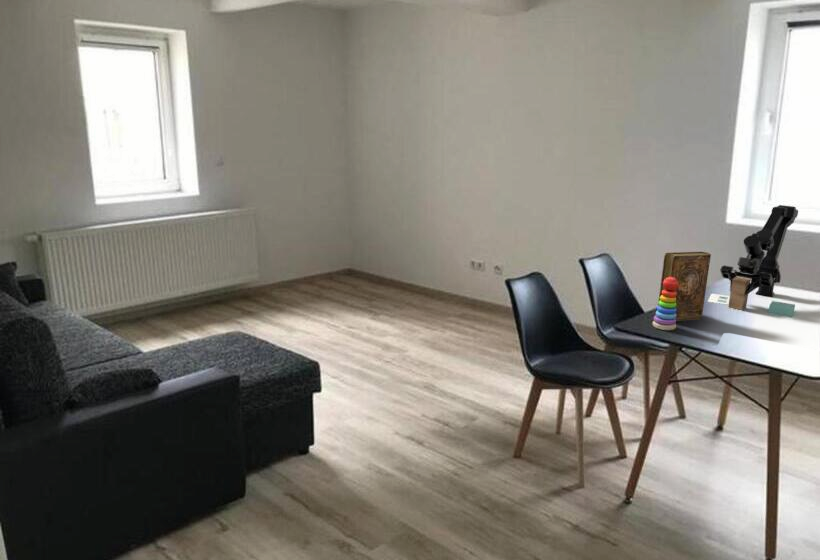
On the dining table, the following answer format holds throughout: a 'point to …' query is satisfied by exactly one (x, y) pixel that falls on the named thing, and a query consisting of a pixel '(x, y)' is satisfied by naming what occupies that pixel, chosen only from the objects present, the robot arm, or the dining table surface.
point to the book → (687, 282)
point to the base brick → (781, 308)
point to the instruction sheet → (719, 299)
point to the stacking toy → (667, 306)
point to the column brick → (739, 293)
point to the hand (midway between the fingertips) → (738, 292)
